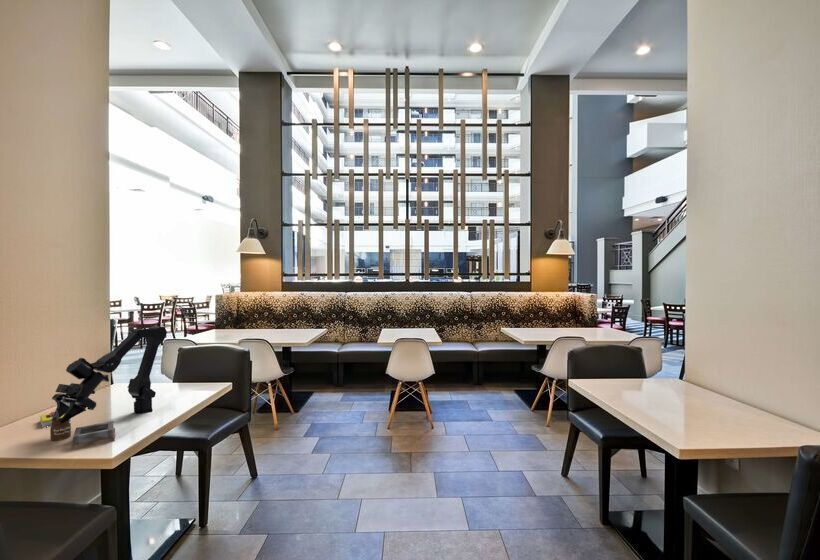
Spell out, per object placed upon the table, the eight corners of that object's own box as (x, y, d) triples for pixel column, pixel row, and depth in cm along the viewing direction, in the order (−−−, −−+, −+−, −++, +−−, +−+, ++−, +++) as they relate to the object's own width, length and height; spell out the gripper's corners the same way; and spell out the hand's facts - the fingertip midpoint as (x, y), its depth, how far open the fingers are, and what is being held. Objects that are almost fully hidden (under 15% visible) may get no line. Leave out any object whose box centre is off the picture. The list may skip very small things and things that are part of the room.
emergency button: (67, 406, 179) (72, 413, 169) (67, 416, 179) (72, 424, 169) (39, 411, 172) (42, 419, 162) (39, 421, 172) (42, 430, 162)
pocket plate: (115, 430, 158) (114, 420, 158) (114, 440, 148) (114, 429, 148) (74, 438, 151) (74, 427, 151) (71, 449, 141) (71, 437, 141)
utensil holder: (48, 438, 151) (47, 407, 151) (69, 433, 156) (68, 403, 156) (52, 442, 148) (52, 410, 148) (74, 436, 153) (73, 405, 153)
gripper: (57, 373, 159) (22, 409, 149) (87, 376, 153) (53, 414, 142) (79, 387, 166) (48, 422, 156) (109, 391, 160) (78, 428, 150)
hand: (56, 421), depth 151 cm, fingers closed on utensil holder, 5 cm apart
